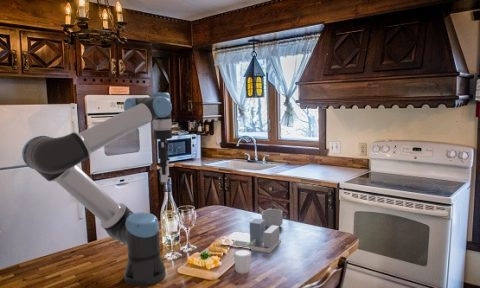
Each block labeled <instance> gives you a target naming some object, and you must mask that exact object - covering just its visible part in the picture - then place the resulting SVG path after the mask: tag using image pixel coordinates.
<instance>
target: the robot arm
mask: <svg viewBox="0 0 480 288" xmlns="http://www.w3.org/2000/svg"><path fill="white" fill-rule="evenodd" d="M123 110H124V111H122V112H120V113H118V114H116V115H113V116H112V117H110V118H108V119H105V120H104V121H102V122H99V123H97V124H95V125H93V126H91V127H89V128H86V129H84V130H82V131H81V132H79V133H78V132H74V131H73V132H71V133H69V134H67V135H64V136H59V137H50V136H48V135H39V136H34V137H33V138H30V139H29V140H27V141H26V143H25V144H24V145H23V148H22V152H21V154H22V155H21V157H22V160H23V162H24V163H25V165H26V166H27V167H28V168H30V169H32V170H34V171H35V172H37V173H38V174H39V175H40V176H41V177H43V178H44V179H45V180H46V181H48V182H55V183H57V184H58V185H59V186H60V187H62V188H63V189H64V190H65V191H66V192H67V193H69V194H70V195H71V196H72V197H74V199H76V200H77V201H78V202H79V203H80V204H81V205H82V206H83V207H84V208H86V209H87V210H88V211H89V212H90V213H92V214H93V215H94V216H95V217H96V218H97V219H99V220H100V227H101V228H103V230H105V232H106V233H107V235H109V236H110V237H111V238H112V239H114V240H116V241H118V242H120V243H122V244H124V245H126V247H127V261H126V266H125V270H124V273H123V275H124V276H123V277H124V283H126V284H127V285H129V286H132V287H147V286H151V285H154V284H157V283H159V282H161V281H162V280H163V279H165V277H166V275H167V271H166V266H165V264H164V261H163V259H162V256H161V252H160V251H161V246H160V225H159V219H158V217H157V216H156V215H154V214H153V213H149V212H135V213H134V212H133V211H132V210H131V209H130V208H129V207H128V206H126V205H125V203H122V202H120V203H119V202H118V203H117V201H115V200H114V199H113V198H112V197H111V196H110V195H109V194H108V193H107V192H106V191H105V190H104V189H102V188H101V187H100V186H99V185H98V183H97V182H95V181H94V180H93V179H92V178H91V177H90V176H89V175H88V174H86V173H85V172H84V170H82V169H81V168H80V167H79V166H78V164H81V163H82V162H84V161H86V160H89V158H90V157H91V154H93V153H94V152H97V151H98V150H100V149H102V148H104V147H105V146H107V145H109V144H112V142H113V143H114V141H116V140H119V139H120V138H123V137H124V136H126V135H128V134H130V133H131V132H134V131H135V130H138V129H140V128H141V127H143V126H145V125H147V124H148V123H150V122H151V124H152V125H153V129H154V130H153V138H154V140H159V141H160V142H158V152H159V164H158V168H159V170H160V183H169V179H168V177H169V176H170V170H169V169H170V168H169V167H170V165H169V161H170V160H171V158H169V152H168V151H169V142H168V140H170V139H172V138H173V130H172V128H173V127H172V125H173V124H172V110H173V107H172V102H171V96H170V93H169V92H152V93H151V96H148V97H130V98H129V97H128V98H126V99H125V100H124V103H123Z"/></svg>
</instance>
